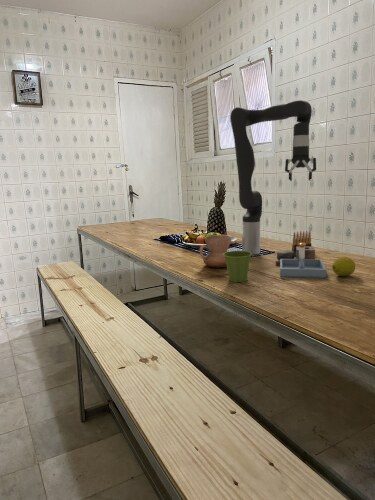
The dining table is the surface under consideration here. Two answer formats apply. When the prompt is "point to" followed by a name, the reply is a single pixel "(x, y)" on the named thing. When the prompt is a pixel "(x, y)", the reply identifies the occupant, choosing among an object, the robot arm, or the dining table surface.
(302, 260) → the lock pin
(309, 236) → the ammunition clip
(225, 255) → the plant pot
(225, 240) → the ceramic jug
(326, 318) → the dining table surface
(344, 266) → the lemon
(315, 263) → the tray
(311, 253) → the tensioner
